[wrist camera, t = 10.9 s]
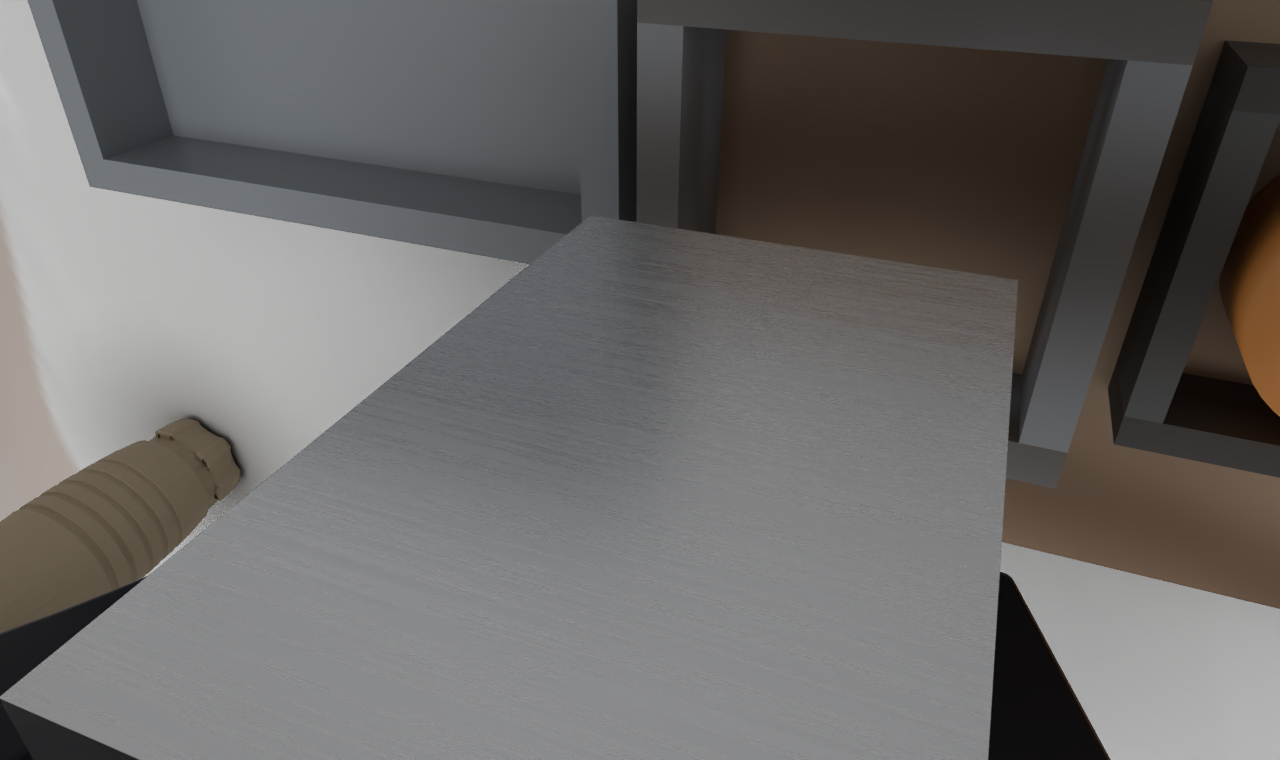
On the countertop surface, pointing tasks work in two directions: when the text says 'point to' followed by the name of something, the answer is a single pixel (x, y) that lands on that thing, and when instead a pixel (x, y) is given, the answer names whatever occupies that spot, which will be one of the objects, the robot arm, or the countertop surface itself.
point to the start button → (1257, 292)
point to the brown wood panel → (1019, 225)
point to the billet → (601, 534)
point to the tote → (360, 111)
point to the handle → (110, 521)
